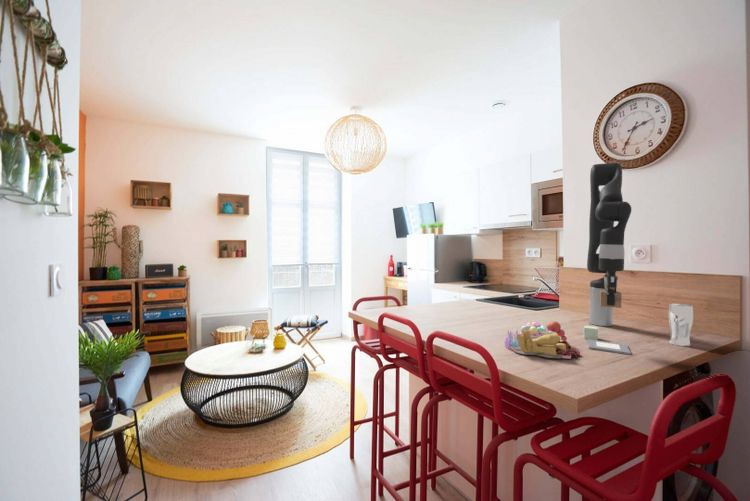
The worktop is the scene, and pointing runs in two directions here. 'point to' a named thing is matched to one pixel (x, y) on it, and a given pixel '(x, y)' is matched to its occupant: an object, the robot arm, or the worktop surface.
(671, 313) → the beer glass
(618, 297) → the walnut block
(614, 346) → the pad
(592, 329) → the sage cube
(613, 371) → the worktop surface
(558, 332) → the candy landscape model
